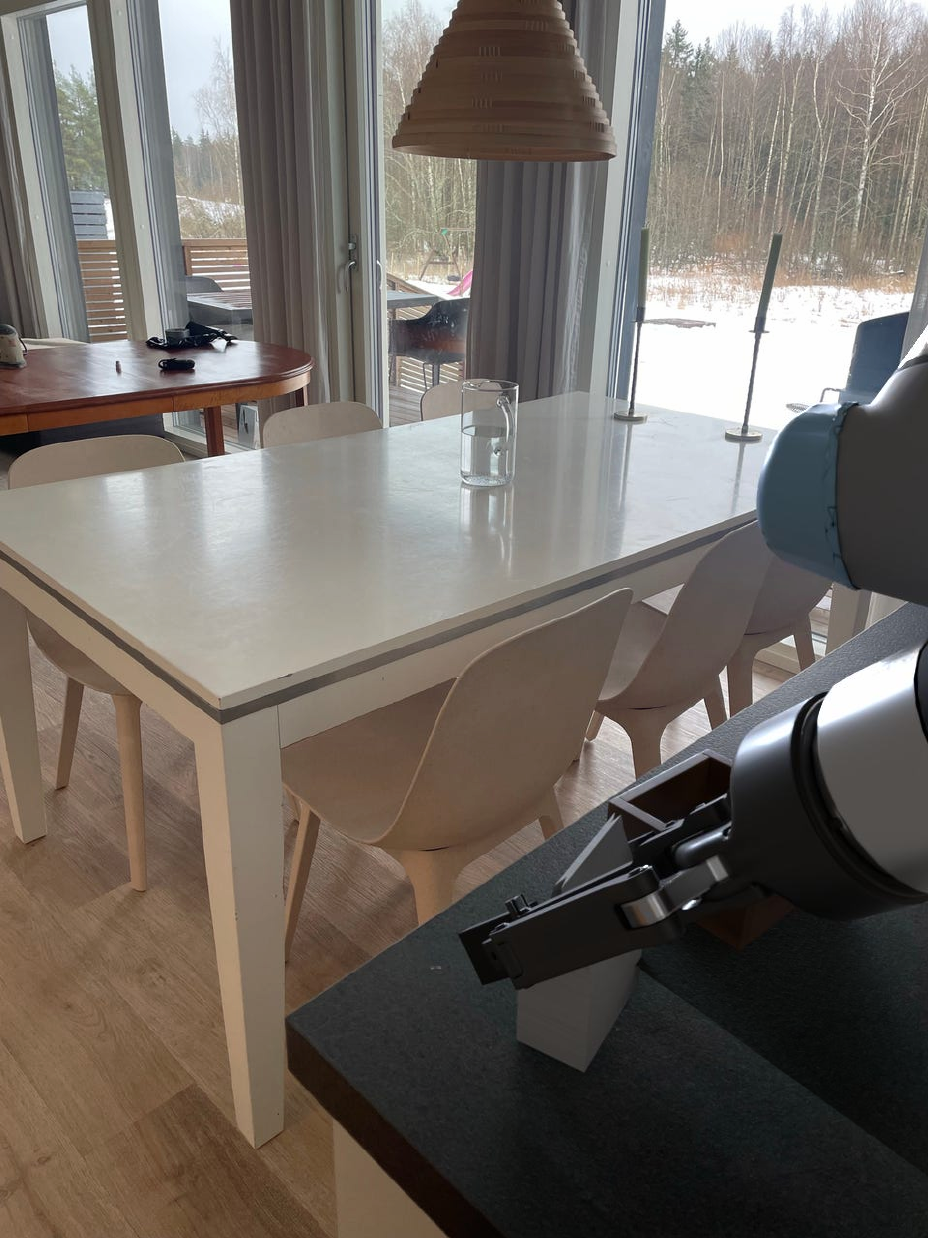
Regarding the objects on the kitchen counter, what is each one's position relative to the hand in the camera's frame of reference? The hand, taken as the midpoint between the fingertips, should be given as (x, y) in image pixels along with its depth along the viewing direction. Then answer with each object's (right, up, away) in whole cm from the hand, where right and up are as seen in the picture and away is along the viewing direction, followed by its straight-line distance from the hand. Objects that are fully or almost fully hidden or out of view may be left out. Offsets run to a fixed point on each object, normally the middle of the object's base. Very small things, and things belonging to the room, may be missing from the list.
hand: (535, 920), depth 49 cm
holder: (+11, -1, +7) cm, 14 cm away
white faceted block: (+2, -4, -1) cm, 5 cm away
